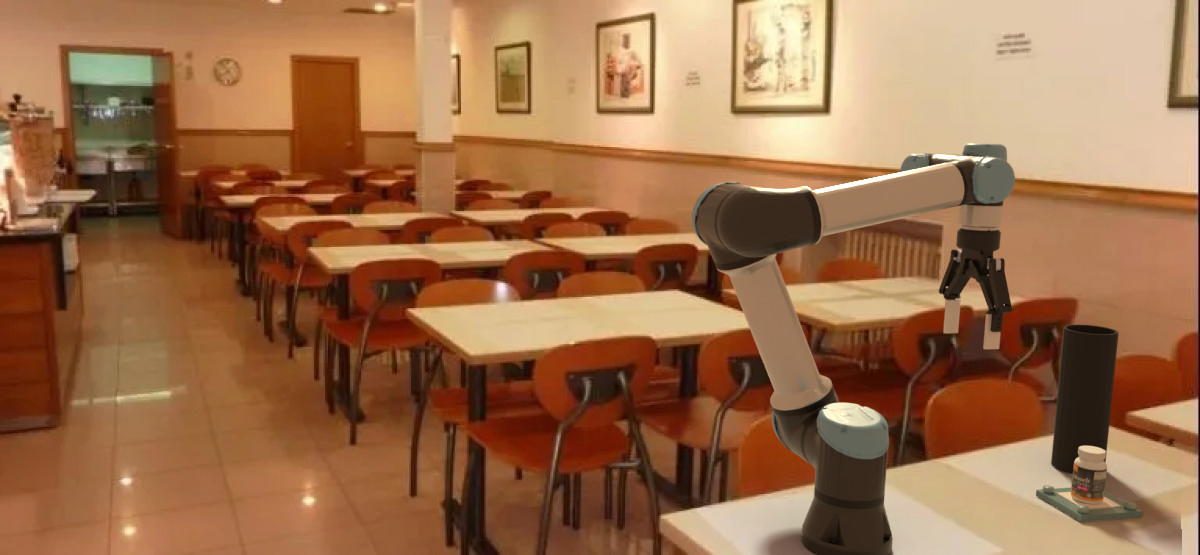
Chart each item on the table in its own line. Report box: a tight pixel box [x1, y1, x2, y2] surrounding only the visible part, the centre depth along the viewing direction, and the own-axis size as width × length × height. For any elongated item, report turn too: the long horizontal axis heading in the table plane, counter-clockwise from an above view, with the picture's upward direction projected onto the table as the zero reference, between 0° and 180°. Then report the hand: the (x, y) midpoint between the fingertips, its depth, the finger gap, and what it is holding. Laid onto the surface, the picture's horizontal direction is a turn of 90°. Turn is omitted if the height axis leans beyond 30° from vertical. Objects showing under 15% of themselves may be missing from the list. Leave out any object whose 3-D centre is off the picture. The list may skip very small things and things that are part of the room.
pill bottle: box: [1070, 446, 1108, 504], centre depth 186 cm, size 6×6×10 cm
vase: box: [1050, 324, 1119, 475], centre depth 207 cm, size 10×10×30 cm
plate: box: [1035, 484, 1144, 523], centre depth 187 cm, size 13×13×2 cm
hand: (970, 340), depth 184 cm, fingers open, 13 cm apart
